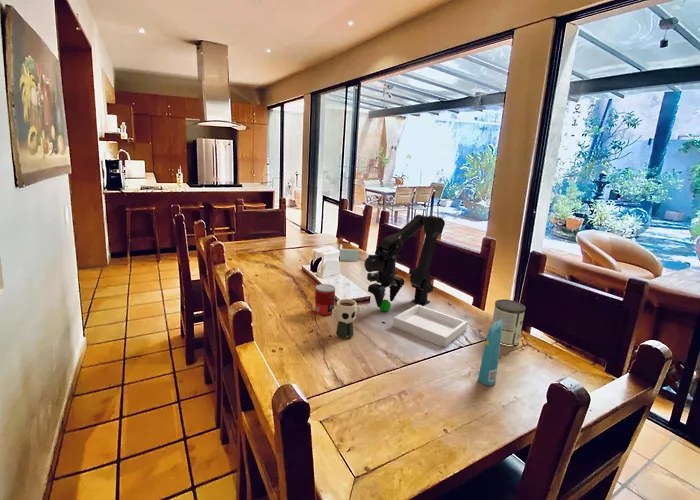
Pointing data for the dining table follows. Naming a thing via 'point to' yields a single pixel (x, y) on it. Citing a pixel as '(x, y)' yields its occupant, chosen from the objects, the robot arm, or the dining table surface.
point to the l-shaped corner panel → (349, 254)
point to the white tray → (430, 325)
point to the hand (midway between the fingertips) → (385, 303)
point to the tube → (491, 355)
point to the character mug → (345, 317)
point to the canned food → (324, 299)
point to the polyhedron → (385, 305)
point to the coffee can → (509, 320)
